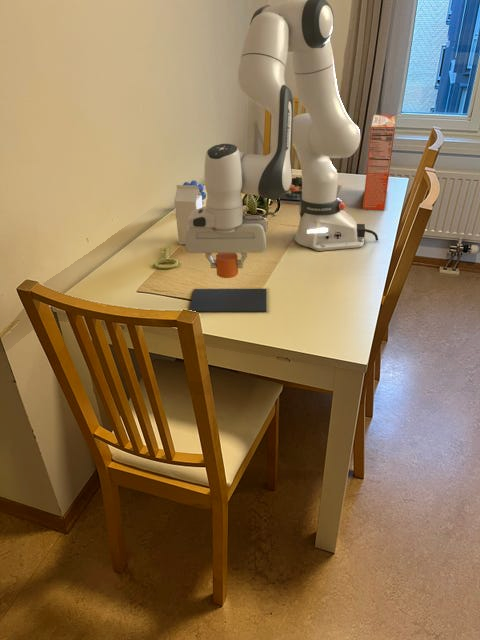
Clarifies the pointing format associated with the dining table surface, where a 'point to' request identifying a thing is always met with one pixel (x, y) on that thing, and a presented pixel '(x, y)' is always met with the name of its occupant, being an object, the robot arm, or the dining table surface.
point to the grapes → (200, 187)
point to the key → (166, 260)
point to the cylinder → (226, 265)
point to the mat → (229, 300)
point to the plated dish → (293, 192)
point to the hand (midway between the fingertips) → (226, 267)
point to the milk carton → (186, 207)
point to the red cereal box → (379, 161)
